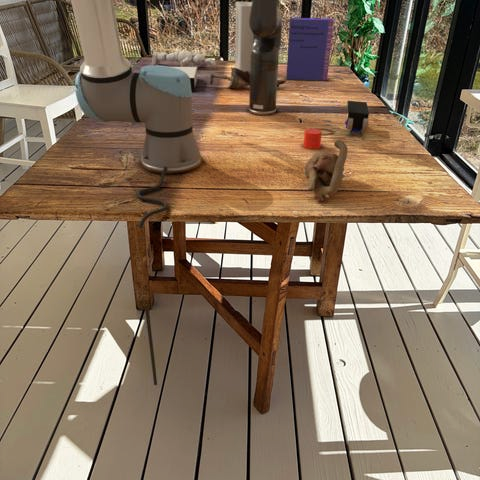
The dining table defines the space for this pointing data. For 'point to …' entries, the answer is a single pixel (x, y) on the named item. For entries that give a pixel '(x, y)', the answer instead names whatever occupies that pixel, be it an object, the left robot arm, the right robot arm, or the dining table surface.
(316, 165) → the brown monkey figure
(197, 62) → the toy
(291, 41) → the cereal box
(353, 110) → the figurine character
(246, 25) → the tall white carton
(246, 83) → the figurine
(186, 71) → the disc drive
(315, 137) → the tin
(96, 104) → the left robot arm
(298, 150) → the dining table surface
